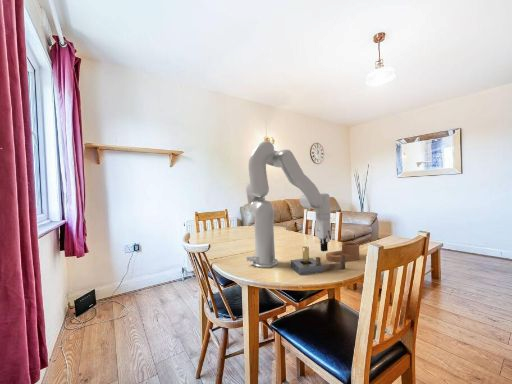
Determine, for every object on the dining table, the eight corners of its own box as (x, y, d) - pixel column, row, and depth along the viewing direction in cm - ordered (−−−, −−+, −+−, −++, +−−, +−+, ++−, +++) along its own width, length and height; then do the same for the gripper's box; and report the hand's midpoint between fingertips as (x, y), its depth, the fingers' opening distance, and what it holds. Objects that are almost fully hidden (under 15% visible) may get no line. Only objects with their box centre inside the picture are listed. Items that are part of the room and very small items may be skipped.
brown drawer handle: (317, 272, 102) (316, 258, 102) (315, 270, 104) (314, 257, 104) (346, 268, 104) (346, 255, 104) (343, 267, 106) (343, 254, 106)
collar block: (299, 274, 100) (299, 268, 100) (290, 266, 110) (290, 260, 110) (323, 272, 102) (323, 265, 102) (312, 263, 113) (312, 257, 112)
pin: (304, 270, 105) (303, 248, 104) (302, 268, 107) (301, 246, 107) (310, 269, 105) (309, 247, 105) (308, 267, 108) (307, 246, 108)
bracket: (351, 254, 126) (351, 241, 126) (363, 258, 118) (362, 244, 118) (322, 258, 121) (322, 245, 121) (332, 263, 113) (332, 249, 113)
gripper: (310, 215, 131) (311, 247, 131) (323, 219, 116) (324, 255, 117) (322, 214, 132) (323, 246, 133) (336, 218, 118) (338, 254, 118)
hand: (324, 250), depth 125 cm, fingers closed
